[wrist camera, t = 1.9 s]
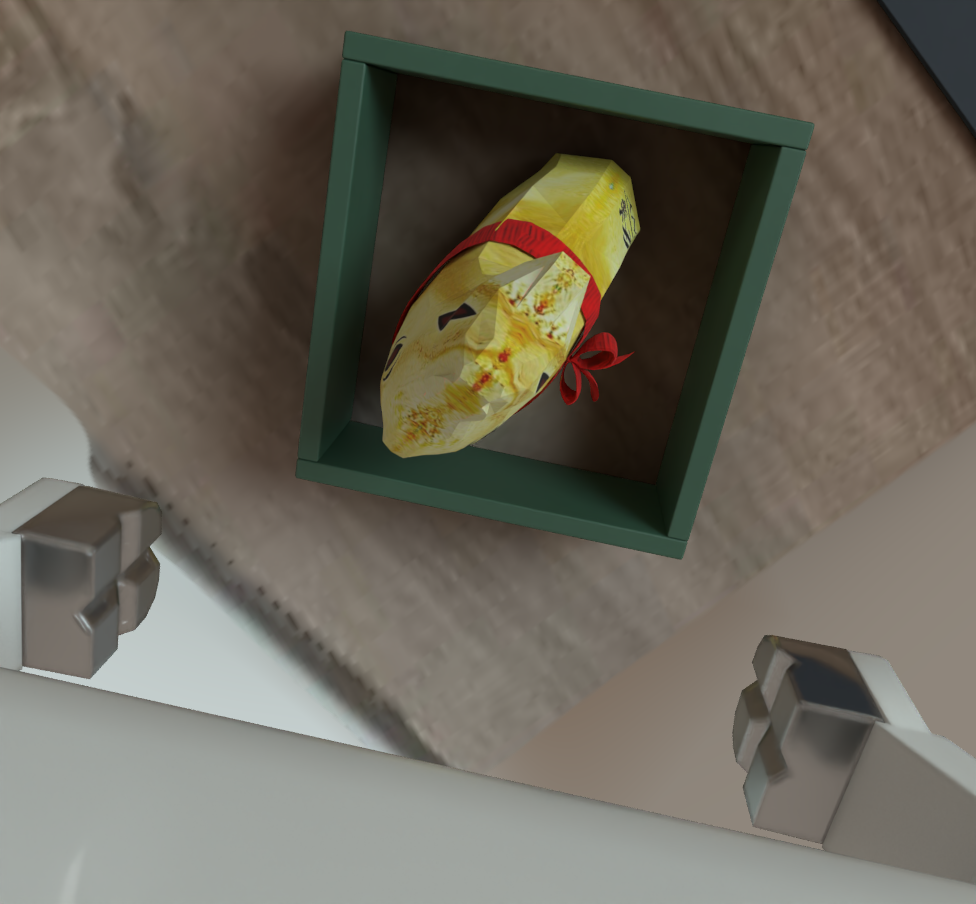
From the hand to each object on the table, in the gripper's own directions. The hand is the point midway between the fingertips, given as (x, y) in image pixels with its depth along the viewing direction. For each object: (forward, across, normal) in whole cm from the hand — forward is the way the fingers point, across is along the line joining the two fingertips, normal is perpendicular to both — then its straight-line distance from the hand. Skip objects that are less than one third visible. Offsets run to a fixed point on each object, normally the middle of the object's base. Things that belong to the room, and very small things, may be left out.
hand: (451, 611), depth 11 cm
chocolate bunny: (+24, 0, 0) cm, 24 cm away
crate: (+24, 0, 0) cm, 24 cm away
